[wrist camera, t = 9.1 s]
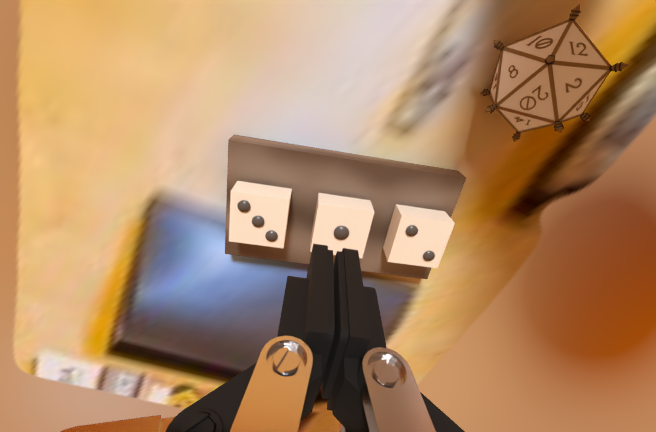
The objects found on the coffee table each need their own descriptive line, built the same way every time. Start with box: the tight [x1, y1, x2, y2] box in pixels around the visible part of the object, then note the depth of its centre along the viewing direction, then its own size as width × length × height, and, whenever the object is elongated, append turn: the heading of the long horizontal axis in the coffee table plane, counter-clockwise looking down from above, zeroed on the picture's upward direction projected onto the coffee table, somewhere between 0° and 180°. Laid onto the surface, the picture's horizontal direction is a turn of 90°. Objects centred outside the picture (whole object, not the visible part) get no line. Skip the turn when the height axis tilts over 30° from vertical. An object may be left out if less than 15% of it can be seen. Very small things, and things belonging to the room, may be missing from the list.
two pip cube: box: [383, 204, 455, 268], centre depth 31 cm, size 5×5×3 cm
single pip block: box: [310, 193, 374, 258], centre depth 30 cm, size 5×5×3 cm
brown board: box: [225, 135, 466, 279], centre depth 33 cm, size 12×22×2 cm, turn 81°
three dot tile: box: [229, 181, 292, 248], centre depth 29 cm, size 5×5×3 cm
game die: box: [481, 5, 628, 142], centre depth 25 cm, size 9×8×10 cm
